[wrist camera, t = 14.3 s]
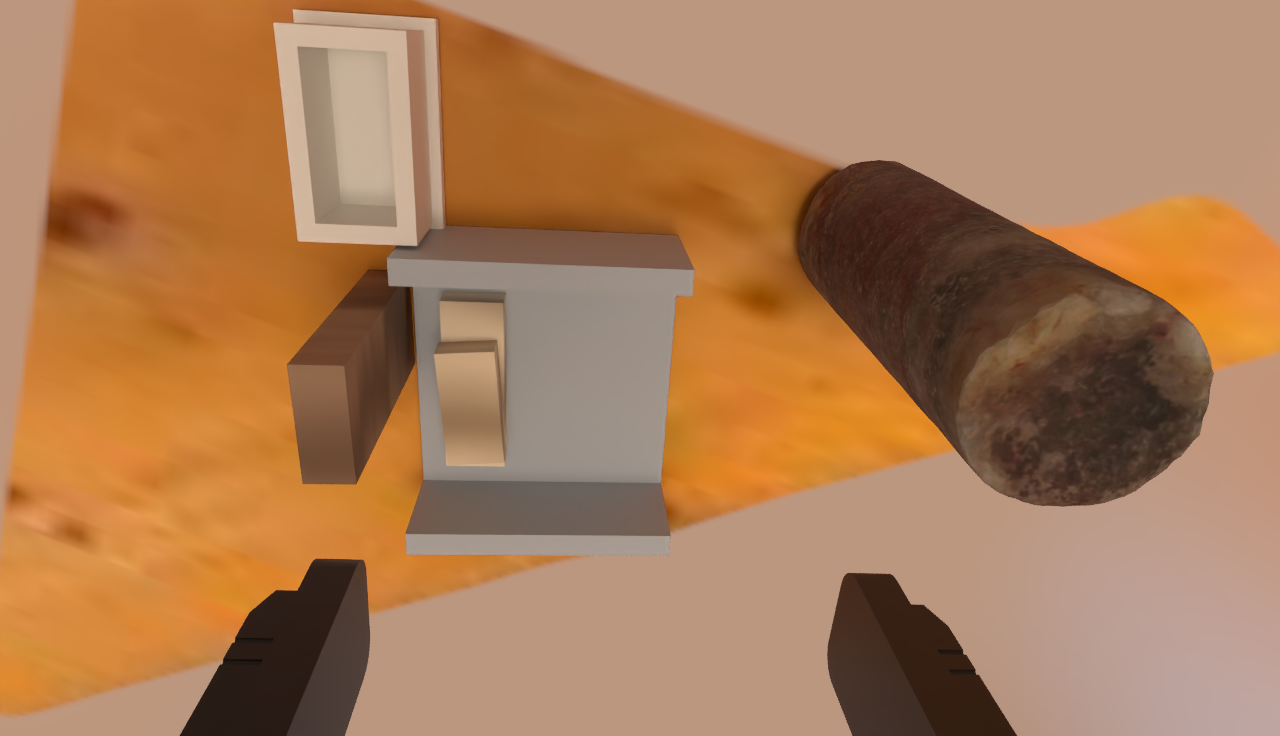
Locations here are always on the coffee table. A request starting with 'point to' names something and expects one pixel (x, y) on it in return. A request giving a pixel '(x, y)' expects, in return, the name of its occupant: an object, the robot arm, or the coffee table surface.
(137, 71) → the coffee table surface
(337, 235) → the holder
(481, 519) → the rack
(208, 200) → the coffee table surface
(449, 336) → the block
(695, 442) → the coffee table surface
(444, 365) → the offcut short
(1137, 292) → the brown log
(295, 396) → the slat
